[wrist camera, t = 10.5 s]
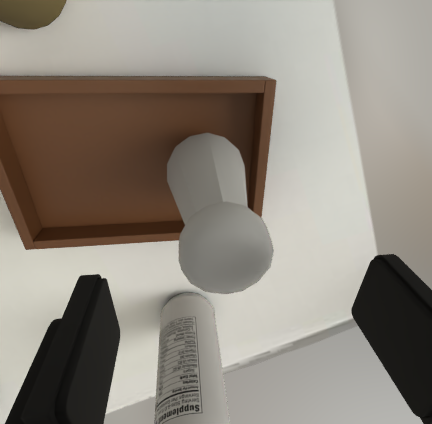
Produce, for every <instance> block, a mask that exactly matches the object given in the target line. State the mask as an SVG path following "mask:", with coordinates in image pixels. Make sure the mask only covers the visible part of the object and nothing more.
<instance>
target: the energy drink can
mask: <svg viewBox="0 0 432 424" xmlns="http://www.w3.org/2000/svg"><path fill="white" fill-rule="evenodd" d="M154 424H230V420H229V412H228V405H227V398H226V391H225V384H224V377H223V370H222V363H221V356H220V349H219V342H218V335H217V328H216V321H215V314H214V309H213V306H212V305H211V303H210V302H209V301H207V300H206V299H205V298H204V297H203V296H201V295H199V294H196V293H182V294H179V295H176V296H175V297H173V298H172V299H171V300H169V302H168V303H167V304H166V305H165V306H164V308H163V309H162V312H161V321H160V337H159V354H158V371H157V388H156V404H155V421H154Z"/></svg>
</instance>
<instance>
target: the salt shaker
mask: <svg viewBox="0 0 432 424" xmlns="http://www.w3.org/2000/svg"><path fill="white" fill-rule="evenodd" d="M167 182H168V184H169V187H170V189H171V192H172V194H173V197H174V199H175V202H176V204H177V207H178V209H179V212H180V214H181V217H182V219H183V221H184V224H185V227H184V228H183V230H182V232H181V234H180V238H179V263H180V266H181V270H182V271H183V273H184V274H185V276H186V277H187V279H188V280H189V282H190V283H191V284H193V285H195V286H196V287H198V288H200V289H202V290H203V291H205V292H211V293H220V294H229V293H234V292H239V291H243V290H245V289H246V288H248V287H250V286H252V285H253V284H255V283H257V282H258V281H259V280H260V279H261V278H262V276H263V275H264V274H265V273H266V271H267V270H268V269H269V268H270V266H271V261H272V256H273V251H274V250H273V245H272V241H271V238H270V235H269V232H268V229H267V227H266V225H265V223H264V221H263V220H262V218H261V217H260V216H258V215H257V214H256V213H254V212H253V211H252V210H250V209H249V208H248V205H247V192H246V179H245V166H244V163H243V160H242V157H241V155H240V152H239V150H238V149H237V148H236V147H235V146H234V145H233V144H232V143H230V142H229V141H228V140H227V139H226V138H225V137H222V136H218V135H214V134H210V133H203V134H198V135H193V136H189V137H188V138H187V139H185V140H184V141H183V142H181V143H180V144H179V145H177V146H176V147H175V148H174V150H173V153H172V155H171V157H170V159H169V161H168V163H167Z"/></svg>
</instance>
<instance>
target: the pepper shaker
mask: <svg viewBox="0 0 432 424" xmlns="http://www.w3.org/2000/svg"><path fill="white" fill-rule="evenodd" d="M65 3H66V0H0V21H2V22H4V23H7V24H9V25H12V26H14V27H17V28H24V29H37V28H40V27H44V26H47V25H49V24H50V23H51V22H52V21H54V20H55V19H56V18H57V17H58V16H59V15H60V13H61V11H62V9H63V7H64V5H65Z"/></svg>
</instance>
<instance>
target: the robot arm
mask: <svg viewBox="0 0 432 424" xmlns="http://www.w3.org/2000/svg"><path fill="white" fill-rule="evenodd" d="M352 316H353V318H354V320H355V321H356V323H357V324H358V326H359V328H360V329H361V330H362V332H363V334H364V335H365V337H366V339H367V340H368V342H369V343H370V345H371V347H372V348H373V350H374V352H375V353H376V355H377V356H378V358H379V359H380V361H381V362H382V364H383V366H384V367H385V369H386V371H387V372H388V374H389V375H390V377H391V379H392V380H393V382H394V383H395V385H396V386H397V388H398V390H399V391H400V393H401V395H402V396H403V398H404V399H405V401H406V402H407V404H408V406H409V407H410V409H411V410H412V412H413V413H414V414H415V415H416V416H418V417H420V418H421V420H422V422H423V423H424V424H432V290H431V289H430V288H429V287H428V286H427V285H426V284H425V283H424V282H423V281H422V280H421V279H420V278H419V277H418V276H417V275H416V274H415V273H414V272H413V271H412V270H411V269H410V268H409V267H408V266H407V265H406V264H405V263H404V262H403V261H402V260H401V259H400V258H399V257H397V256H396V255H394V254H389V255H377V256H376V257H375V258H374V260H372V261H371V262H370V264H369V267H368V269H367V272H366V274H365V277H364V279H363V282H362V284H361V287H360V289H359V292H358V294H357V297H356V299H355V302H354V304H353V306H352ZM119 341H120V328H119V324H118V320H117V316H116V312H115V309H114V305H113V301H112V297H111V294H110V290H109V286H108V282H107V279H106V278H103V279H102V278H101V276H100V275H99V274H97V275H82V276H80V277H79V279H78V281H77V283H76V286H75V288H74V291H73V293H72V295H71V298H70V300H69V302H68V305H67V307H66V310H65V312H64V314H63V317H62V319H55V320H53V321H52V322H51V324H50V326H49V327H48V329H47V332H46V334H45V336H44V338H43V340H42V343H41V345H40V347H39V349H38V352H37V354H36V356H35V358H34V360H33V363H32V365H31V367H30V369H29V371H28V374H27V376H26V378H25V380H24V383H23V385H22V387H21V389H20V391H19V394H18V396H17V398H16V400H15V402H14V405H13V407H12V409H11V411H10V414H9V416H8V418H7V420H6V422H5V424H103V423H104V418H105V413H106V408H107V402H108V397H109V392H110V387H111V382H112V377H113V372H114V367H115V361H116V356H117V351H118V346H119Z"/></svg>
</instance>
